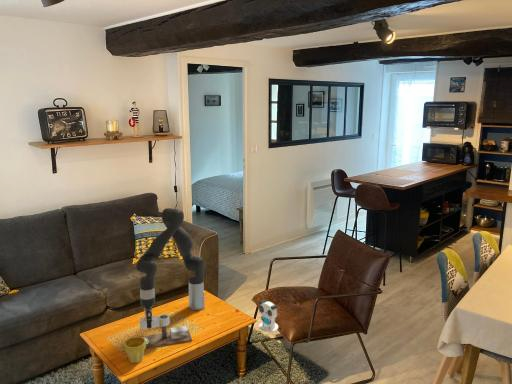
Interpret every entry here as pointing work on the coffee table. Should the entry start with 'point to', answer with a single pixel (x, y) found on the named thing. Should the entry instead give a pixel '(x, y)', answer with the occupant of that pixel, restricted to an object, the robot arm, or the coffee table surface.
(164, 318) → the hinge leaf
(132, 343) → the plant pot
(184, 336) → the hinge base
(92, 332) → the coffee table surface
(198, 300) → the robot arm
